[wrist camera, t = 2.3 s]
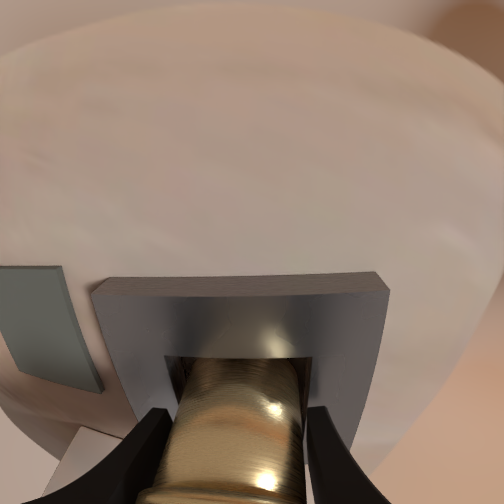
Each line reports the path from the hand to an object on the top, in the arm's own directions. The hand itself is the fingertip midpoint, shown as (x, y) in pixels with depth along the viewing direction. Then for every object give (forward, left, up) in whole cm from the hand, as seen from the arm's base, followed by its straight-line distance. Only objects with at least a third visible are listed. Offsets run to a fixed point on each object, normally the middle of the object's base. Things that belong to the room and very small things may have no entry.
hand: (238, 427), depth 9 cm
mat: (+2, +11, -3) cm, 11 cm away
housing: (0, 0, -3) cm, 3 cm away
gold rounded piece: (0, 0, -2) cm, 2 cm away
